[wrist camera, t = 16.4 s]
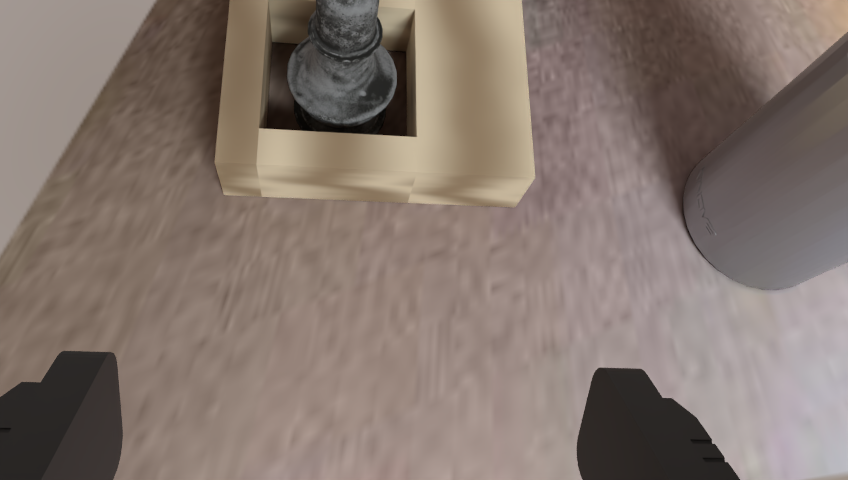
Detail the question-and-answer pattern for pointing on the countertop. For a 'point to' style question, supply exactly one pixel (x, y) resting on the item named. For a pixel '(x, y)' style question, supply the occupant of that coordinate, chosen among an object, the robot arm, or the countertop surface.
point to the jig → (426, 110)
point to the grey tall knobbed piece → (342, 70)
